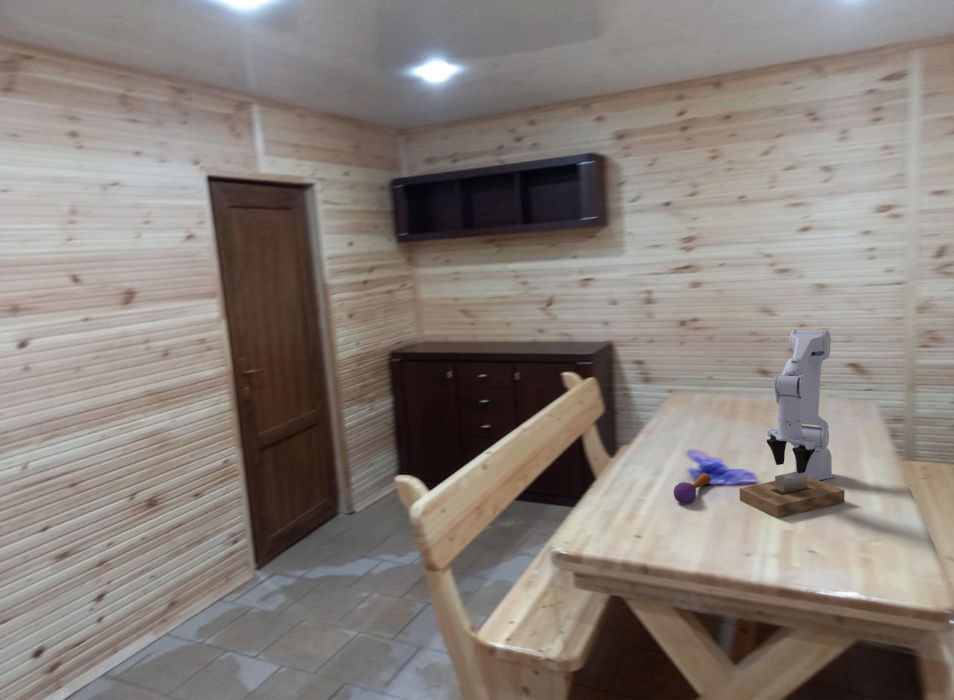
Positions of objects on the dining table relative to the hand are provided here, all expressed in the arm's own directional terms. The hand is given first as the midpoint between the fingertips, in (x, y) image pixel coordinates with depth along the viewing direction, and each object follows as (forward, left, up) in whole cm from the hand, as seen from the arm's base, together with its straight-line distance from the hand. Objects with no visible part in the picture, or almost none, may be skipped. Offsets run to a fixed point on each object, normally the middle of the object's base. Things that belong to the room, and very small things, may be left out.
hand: (790, 468), depth 172 cm
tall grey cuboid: (0, 0, -9) cm, 9 cm away
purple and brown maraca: (+19, -16, -10) cm, 27 cm away
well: (0, 0, -9) cm, 9 cm away
